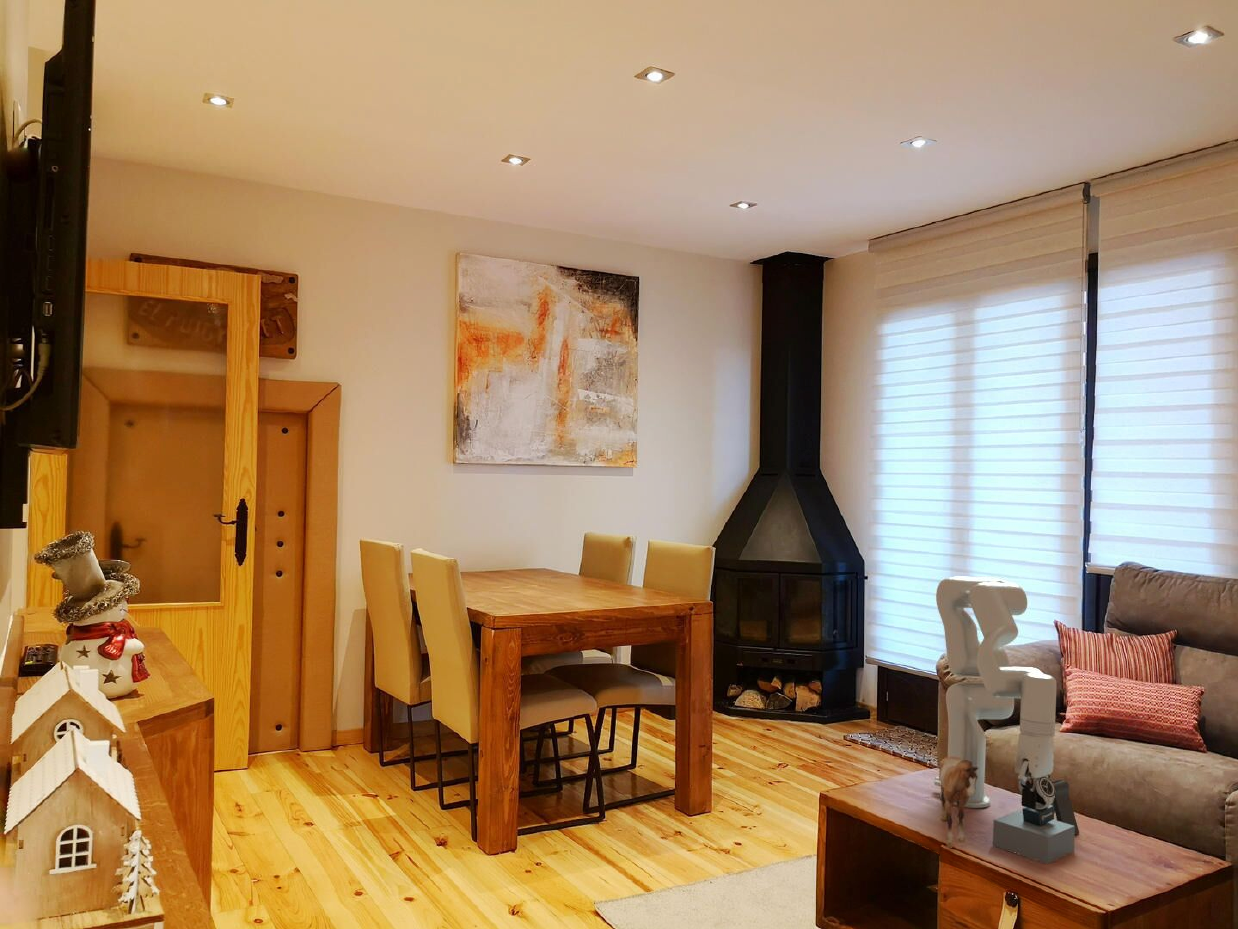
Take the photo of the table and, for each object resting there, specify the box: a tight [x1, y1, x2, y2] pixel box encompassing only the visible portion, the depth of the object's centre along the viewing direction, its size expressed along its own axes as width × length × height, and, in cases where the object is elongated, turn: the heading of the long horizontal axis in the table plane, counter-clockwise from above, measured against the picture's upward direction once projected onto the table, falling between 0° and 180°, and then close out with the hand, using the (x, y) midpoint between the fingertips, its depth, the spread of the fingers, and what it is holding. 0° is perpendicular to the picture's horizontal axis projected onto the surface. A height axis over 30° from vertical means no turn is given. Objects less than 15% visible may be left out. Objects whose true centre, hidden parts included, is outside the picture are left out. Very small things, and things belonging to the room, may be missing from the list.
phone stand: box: [1051, 779, 1080, 836], centre depth 234 cm, size 9×6×12 cm, turn 36°
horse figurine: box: [938, 756, 978, 849], centre depth 229 cm, size 31×8×21 cm, turn 162°
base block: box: [992, 809, 1075, 865], centre depth 221 cm, size 13×13×6 cm
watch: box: [1018, 774, 1055, 826], centre depth 221 cm, size 6×8×11 cm
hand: (1034, 804), depth 221 cm, fingers open, 4 cm apart
